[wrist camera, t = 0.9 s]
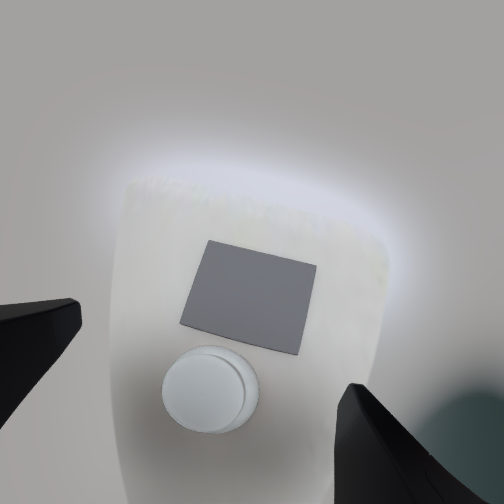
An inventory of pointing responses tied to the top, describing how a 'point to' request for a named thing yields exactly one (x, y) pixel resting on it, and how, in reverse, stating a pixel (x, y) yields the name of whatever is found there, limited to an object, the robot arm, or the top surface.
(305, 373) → the top surface
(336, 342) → the top surface
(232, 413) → the pill bottle
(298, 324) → the slate mat
